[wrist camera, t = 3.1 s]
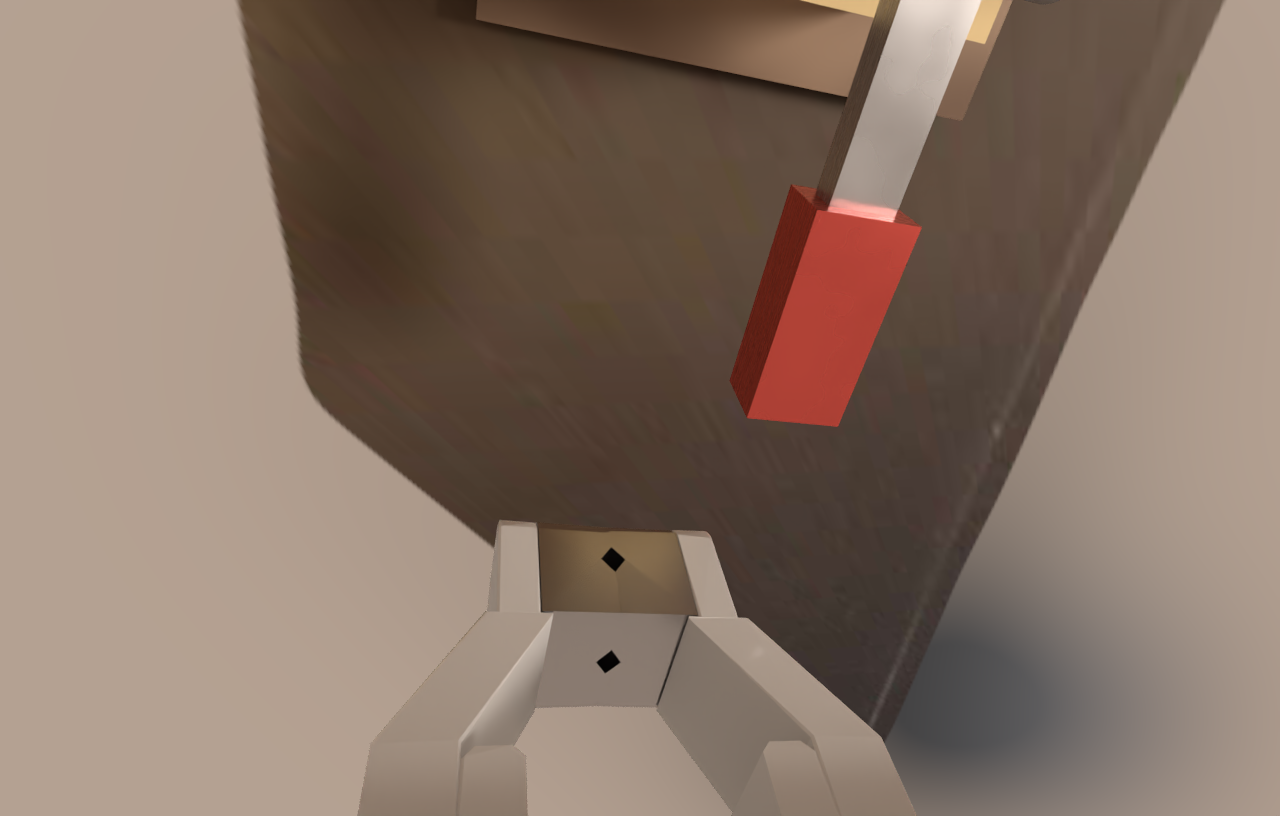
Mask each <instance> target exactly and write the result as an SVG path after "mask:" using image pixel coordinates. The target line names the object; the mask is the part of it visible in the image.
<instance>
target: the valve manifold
mask: <svg viewBox="0 0 1280 816" xmlns="http://www.w3.org/2000/svg"><path fill="white" fill-rule="evenodd" d="M879 1H880V0H477V11H476V20H481V21H486V22H490V23H495V24H500V25H505V26H510V27H514V28H519V29H524V30H529V31H533V32H538V33H543V34H548V35H553V36H557V37H562V38H567V39H572V40H577V41H581V42H586V43H591V44H596V45H601V46H605V47H610V48H615V49H620V50H625V51H629V52H634V53H639V54H644V55H648V56H653V57H658V58H663V59H668V60H672V61H677V62H682V63H687V64H692V65H696V66H701V67H706V68H711V69H716V70H720V71H725V72H730V73H735V74H740V75H744V76H749V77H754V78H759V79H763V80H768V81H773V82H778V83H783V84H787V85H792V86H797V87H802V88H807V89H811V90H816V91H821V92H826V93H831V94H835V95H840V96H845V97H848V94H849V91H850V88H851V85H852V82H853V79H854V76H855V73H856V70H857V67H858V64H859V61H860V58H861V55H862V52H863V49H864V46H865V43H866V40H867V37H868V34H869V31H870V28H871V25H872V22H873V19H874V16H875V13H876V10H877V7H878V4H879ZM1025 1H1029V2H1033V3H1037V4H1051V3H1054V2H1057V1H1059V0H1025ZM1011 3H1012V0H981V3H980V5H979V8H978V10H977V13H976V15H975V18H974V20H973V23H972V25H971V28H970V30H969V33H968V35H967V38H966V40H965V43H964V45H963V48H962V50H961V53H960V55H959V58H958V60H957V63H956V65H955V68H954V70H953V73H952V75H951V78H950V80H949V83H948V85H947V88H946V90H945V93H944V96H943V98H942V101H941V103H940V106H939V108H938V111H937V113H936V116H941V117H946V118H950V119H955V120H960V121H962V120H963V118H964V115H965V113H966V110H967V108H968V106H969V103H970V101H971V98H972V96H973V94H974V91H975V89H976V86H977V84H978V82H979V79H980V77H981V75H982V72H983V70H984V67H985V65H986V63H987V60H988V58H989V55H990V53H991V51H992V48H993V46H994V43H995V41H996V39H997V36H998V34H999V32H1000V29H1001V27H1002V24H1003V22H1004V20H1005V17H1006V15H1007V12H1008V10H1009V8H1010V5H1011Z"/></svg>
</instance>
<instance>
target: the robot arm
mask: <svg viewBox="0 0 1280 816" xmlns="http://www.w3.org/2000/svg"><path fill="white" fill-rule="evenodd" d="M596 705H597V706H616V707H619V706H620V707H657V712H658V713H659V714H660V716H661V717H662V718H663V720H664V721H665V723H666V724H667V725H668V726H669V728H670V729H671V730H672V732H673V733H674V735H675V736H676V737H677V739H678V740H679V741H680V743H681V744H682V745H683V747H684V748H685V749H686V751H687V752H688V753H689V755H690V756H691V757H692V759H693V760H694V761H695V763H696V764H697V765H698V767H699V768H700V769H701V771H702V772H703V773H704V775H705V776H706V778H707V779H708V780H709V782H710V783H711V784H712V786H713V787H714V788H715V790H716V791H717V792H718V794H719V795H720V796H721V798H722V799H723V800H724V802H725V803H726V804H727V806H728V807H729V808H730V810H731V811H732V812H733V813H732V815H731V816H917V815H916V813H915V811H914V808H913V806H912V804H911V802H910V800H909V797H908V795H907V793H906V791H905V789H904V786H903V784H902V782H901V780H900V777H899V775H898V773H897V771H896V769H895V766H894V764H893V762H892V760H891V758H890V755H889V753H888V751H887V749H886V747H885V744H884V742H883V740H882V738H881V737H880V736H879V735H878V734H877V733H876V732H875V731H874V730H872V729H871V728H870V727H869V726H868V725H867V724H866V723H865V722H863V721H862V720H861V719H860V718H859V717H858V716H857V715H856V714H855V713H853V712H852V711H851V710H850V709H849V708H848V707H847V706H846V705H844V704H843V703H842V702H841V701H840V700H839V699H838V698H837V697H835V696H834V695H833V694H832V693H831V692H830V691H829V690H828V689H826V688H825V687H824V686H823V685H822V684H821V683H820V682H819V681H818V680H816V679H815V678H814V677H813V676H812V675H811V674H810V673H809V672H807V671H806V670H805V669H804V668H803V667H802V666H801V665H800V664H798V663H797V662H796V661H795V660H794V659H793V658H792V657H791V656H790V655H788V654H787V653H786V652H785V651H784V650H783V649H782V648H781V647H779V646H778V645H777V644H776V643H775V642H774V641H773V640H772V639H770V638H769V637H768V636H767V635H766V634H765V633H764V632H763V631H761V630H760V629H759V628H758V627H757V626H756V625H755V624H754V623H753V622H751V621H750V620H749V619H748V618H738V617H737V614H736V611H735V608H734V605H733V602H732V599H731V596H730V593H729V590H728V587H727V584H726V581H725V578H724V575H723V572H722V569H721V566H720V563H719V560H718V557H717V554H716V551H715V548H714V545H713V542H712V539H711V536H710V535H709V534H708V533H707V532H706V531H684V530H673V531H669V530H649V529H627V528H606V527H592V526H579V525H566V524H553V523H540V522H537V523H536V524H535V523H531V522H518V521H505V520H499V523H498V526H497V534H496V541H495V548H494V556H493V563H492V571H491V578H490V587H489V597H488V607H487V611H485V612H484V614H483V615H482V616H481V617H480V618H479V619H478V620H477V622H476V623H475V624H474V625H473V626H472V627H471V628H470V630H469V631H468V632H467V633H466V634H465V635H464V637H463V638H462V639H461V640H460V641H459V642H458V644H457V645H456V646H455V647H454V648H453V649H452V650H451V651H450V653H449V654H448V655H447V656H446V657H445V658H444V660H443V661H442V662H441V663H440V664H439V665H438V666H437V668H436V669H435V670H434V671H433V672H432V673H431V675H430V676H429V677H428V678H427V679H426V680H425V682H424V683H423V684H422V685H421V686H420V687H419V688H418V689H417V691H416V692H415V693H414V694H413V695H412V697H411V698H410V699H409V700H408V701H407V702H406V703H405V704H404V706H403V707H402V708H401V709H400V710H399V711H398V712H397V714H396V715H395V716H394V717H393V718H392V720H391V721H390V722H389V723H388V724H387V725H386V726H385V727H384V729H383V730H382V731H381V732H380V733H379V734H378V735H377V737H376V738H375V739H374V740H373V742H371V745H370V750H369V755H368V761H367V766H366V772H365V777H364V783H363V788H362V794H361V799H360V804H359V810H358V816H527V778H526V755H524V754H523V753H522V752H521V751H520V750H518V749H517V748H516V747H514V745H515V743H516V742H517V740H518V738H519V737H520V734H521V733H522V731H523V730H524V728H525V726H526V724H527V723H528V721H529V719H530V718H531V716H532V715H533V713H534V710H535V708H546V707H547V708H548V707H577V706H578V707H579V706H596Z"/></svg>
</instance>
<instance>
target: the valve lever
mask: <svg viewBox="0 0 1280 816" xmlns="http://www.w3.org/2000/svg"><path fill="white" fill-rule="evenodd" d="M980 3H981V0H880V1H879V4H878V7H877V10H876V13H875V16H874V19H873V22H872V25H871V28H870V31H869V34H868V37H867V40H866V43H865V46H864V49H863V52H862V55H861V58H860V61H859V64H858V67H857V70H856V73H855V76H854V79H853V82H852V85H851V88H850V91H849V94H848V97H847V100H846V103H845V106H844V109H843V112H842V115H841V118H840V121H839V124H838V127H837V130H836V133H835V136H834V139H833V142H832V145H831V148H830V151H829V154H828V157H827V160H826V163H825V166H824V169H823V172H822V175H821V178H820V181H819V184H818V187H817V189H814V188H809V187H803V186H797V185H792V184H791V187H790V190H789V193H788V196H787V199H786V202H785V206H784V209H783V212H782V215H781V218H780V222H779V225H778V228H777V231H776V234H775V238H774V241H773V244H772V247H771V250H770V254H769V257H768V260H767V263H766V266H765V270H764V273H763V276H762V279H761V282H760V285H759V289H758V292H757V295H756V298H755V301H754V305H753V308H752V311H751V314H750V317H749V321H748V324H747V327H746V330H745V333H744V337H743V340H742V343H741V346H740V349H739V353H738V356H737V359H736V362H735V365H734V368H733V372H732V375H731V378H730V382H731V385H732V387H733V389H734V391H735V393H736V395H737V398H738V400H739V402H740V404H741V406H742V408H743V411H744V413H745V415H746V417H747V418H752V419H763V420H773V421H784V422H795V423H805V424H816V425H826V426H837V427H838V425H839V422H840V420H841V418H842V415H843V413H844V411H845V408H846V406H847V404H848V401H849V399H850V396H851V394H852V392H853V389H854V387H855V385H856V382H857V380H858V377H859V375H860V373H861V370H862V368H863V366H864V363H865V361H866V358H867V356H868V354H869V351H870V349H871V347H872V344H873V342H874V340H875V337H876V335H877V332H878V330H879V328H880V325H881V323H882V321H883V318H884V316H885V313H886V311H887V309H888V306H889V304H890V302H891V299H892V297H893V294H894V292H895V290H896V287H897V285H898V283H899V280H900V278H901V275H902V273H903V271H904V268H905V266H906V264H907V261H908V259H909V257H910V254H911V252H912V249H913V247H914V245H915V242H916V240H917V238H918V235H919V233H920V230H921V228H922V227H921V226H919V225H918V224H917V223H915V222H914V221H913V220H911V219H910V218H909V217H908V216H906V215H905V214H904V213H902V212H901V211H900V210H898V208H899V206H900V203H901V201H902V198H903V196H904V193H905V191H906V188H907V186H908V183H909V181H910V178H911V176H912V173H913V171H914V168H915V166H916V163H917V161H918V158H919V156H920V153H921V151H922V148H923V146H924V143H925V141H926V138H927V136H928V133H929V131H930V128H931V126H932V123H933V121H934V118H935V116H936V113H937V111H938V108H939V106H940V103H941V101H942V98H943V96H944V93H945V90H946V88H947V85H948V83H949V80H950V78H951V75H952V73H953V70H954V68H955V65H956V63H957V60H958V58H959V55H960V53H961V50H962V48H963V45H964V43H965V40H966V38H967V35H968V33H969V30H970V28H971V25H972V23H973V20H974V18H975V15H976V13H977V10H978V8H979V5H980Z"/></svg>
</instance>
